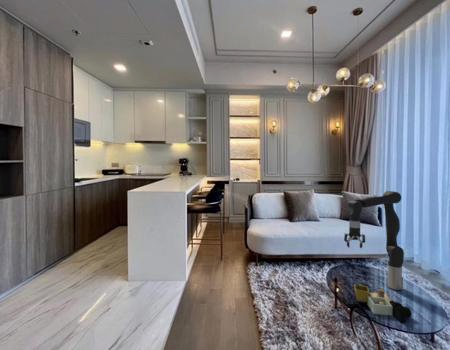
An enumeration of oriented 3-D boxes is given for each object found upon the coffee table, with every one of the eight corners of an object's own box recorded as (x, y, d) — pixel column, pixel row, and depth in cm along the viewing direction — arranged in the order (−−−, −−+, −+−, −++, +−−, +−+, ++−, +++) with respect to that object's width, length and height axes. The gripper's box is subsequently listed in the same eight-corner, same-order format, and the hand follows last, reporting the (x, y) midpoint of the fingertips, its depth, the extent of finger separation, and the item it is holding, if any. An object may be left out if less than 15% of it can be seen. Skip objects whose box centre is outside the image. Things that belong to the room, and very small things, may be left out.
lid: (386, 296, 183) (386, 287, 183) (393, 305, 172) (393, 295, 172) (369, 295, 186) (369, 285, 186) (375, 303, 174) (375, 293, 174)
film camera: (417, 325, 150) (417, 310, 150) (399, 323, 152) (400, 309, 151) (402, 311, 166) (402, 297, 165) (386, 310, 167) (387, 296, 167)
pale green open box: (385, 306, 171) (385, 297, 171) (392, 315, 160) (392, 306, 160) (367, 304, 173) (367, 296, 173) (373, 313, 162) (373, 304, 162)
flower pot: (355, 302, 176) (355, 289, 176) (353, 296, 184) (354, 284, 184) (369, 304, 173) (369, 291, 173) (367, 298, 181) (367, 286, 181)
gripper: (363, 225, 193) (363, 246, 193) (343, 225, 196) (343, 245, 196) (366, 228, 186) (366, 249, 186) (346, 227, 189) (345, 248, 189)
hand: (354, 247), depth 191 cm, fingers open, 8 cm apart
